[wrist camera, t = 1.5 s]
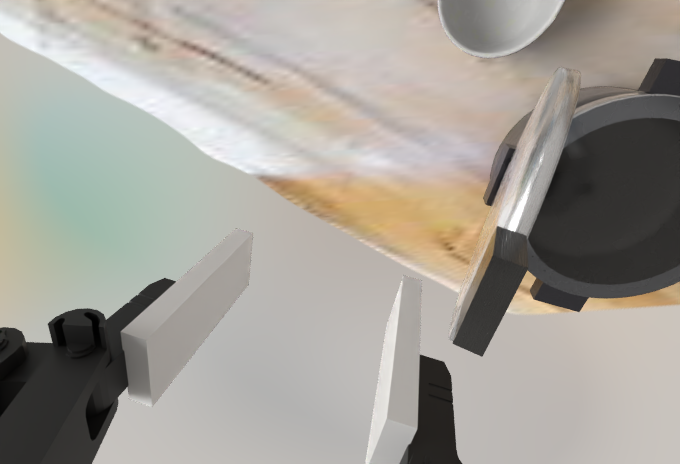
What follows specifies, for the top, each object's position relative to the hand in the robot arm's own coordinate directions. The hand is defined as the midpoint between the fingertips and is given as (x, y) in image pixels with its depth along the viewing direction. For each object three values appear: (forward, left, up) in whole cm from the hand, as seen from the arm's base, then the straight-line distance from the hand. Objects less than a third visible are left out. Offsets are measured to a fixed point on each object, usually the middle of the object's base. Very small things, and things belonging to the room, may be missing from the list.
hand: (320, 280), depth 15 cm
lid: (0, +10, -13) cm, 16 cm away
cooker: (0, +23, -35) cm, 42 cm away
